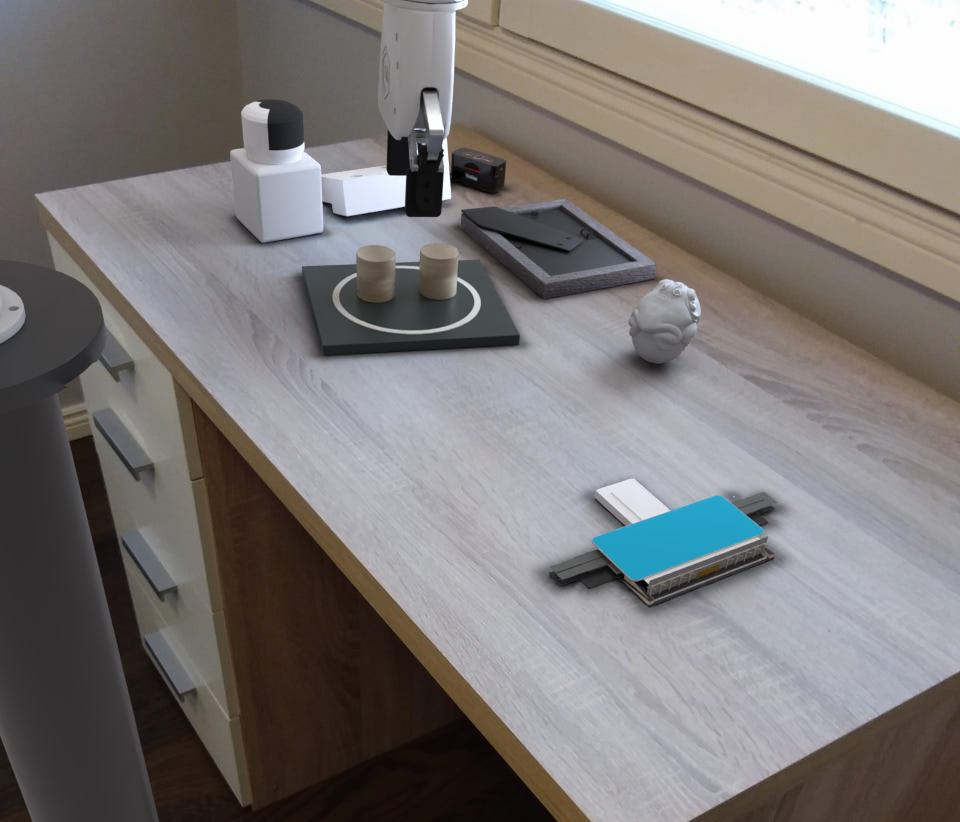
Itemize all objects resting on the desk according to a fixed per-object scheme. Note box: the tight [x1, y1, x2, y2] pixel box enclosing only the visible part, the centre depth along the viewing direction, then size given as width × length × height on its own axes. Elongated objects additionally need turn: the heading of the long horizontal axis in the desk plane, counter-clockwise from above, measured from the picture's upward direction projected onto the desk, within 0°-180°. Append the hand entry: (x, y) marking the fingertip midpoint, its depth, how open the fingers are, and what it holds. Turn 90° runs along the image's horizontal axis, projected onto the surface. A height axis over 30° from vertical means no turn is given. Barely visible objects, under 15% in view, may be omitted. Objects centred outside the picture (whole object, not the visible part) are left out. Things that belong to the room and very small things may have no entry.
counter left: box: [355, 244, 397, 303], centre depth 98 cm, size 4×4×4 cm
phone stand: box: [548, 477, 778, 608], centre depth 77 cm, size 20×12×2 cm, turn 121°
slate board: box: [301, 258, 521, 356], centre depth 100 cm, size 18×16×1 cm
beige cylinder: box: [419, 242, 459, 300], centre depth 100 cm, size 4×4×4 cm
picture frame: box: [460, 198, 658, 300], centre depth 111 cm, size 13×2×18 cm
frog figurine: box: [628, 278, 702, 364], centre depth 94 cm, size 6×7×7 cm
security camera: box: [229, 98, 324, 244], centre depth 108 cm, size 7×7×12 cm
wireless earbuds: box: [449, 147, 507, 194], centre depth 123 cm, size 5×7×3 cm, turn 57°
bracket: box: [321, 129, 452, 217], centre depth 116 cm, size 13×7×8 cm, turn 121°
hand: (412, 194), depth 97 cm, fingers open, 9 cm apart
